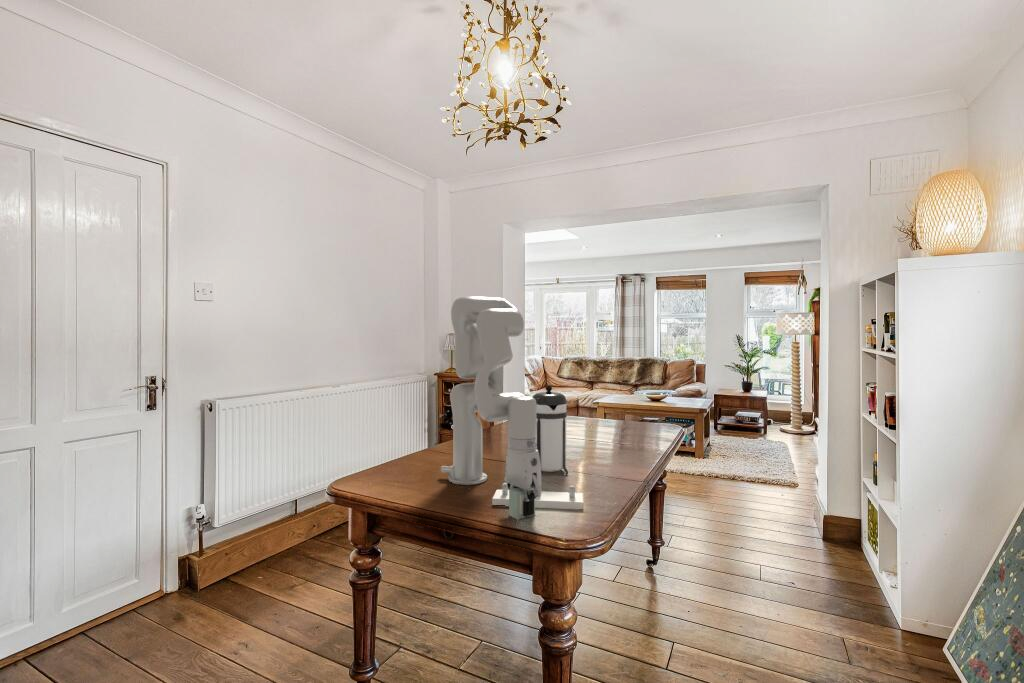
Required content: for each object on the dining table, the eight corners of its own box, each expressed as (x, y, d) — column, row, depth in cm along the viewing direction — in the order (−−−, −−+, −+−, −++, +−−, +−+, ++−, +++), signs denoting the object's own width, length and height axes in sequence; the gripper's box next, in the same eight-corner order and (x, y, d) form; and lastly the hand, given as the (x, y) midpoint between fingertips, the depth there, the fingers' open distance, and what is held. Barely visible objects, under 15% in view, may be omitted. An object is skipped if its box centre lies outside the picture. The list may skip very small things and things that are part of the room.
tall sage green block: (517, 520, 129) (517, 493, 128) (509, 515, 131) (509, 489, 131) (535, 514, 132) (535, 488, 132) (526, 510, 135) (526, 485, 135)
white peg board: (492, 505, 139) (492, 487, 139) (496, 496, 147) (496, 479, 147) (583, 509, 136) (583, 491, 136) (582, 499, 144) (582, 482, 144)
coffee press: (580, 470, 174) (580, 384, 174) (552, 480, 162) (553, 388, 162) (541, 461, 186) (541, 381, 185) (513, 470, 174) (513, 384, 173)
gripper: (554, 447, 127) (554, 518, 127) (513, 436, 140) (513, 500, 141) (531, 451, 122) (531, 525, 123) (492, 440, 136) (492, 506, 136)
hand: (522, 511), depth 132 cm, fingers open, 4 cm apart
